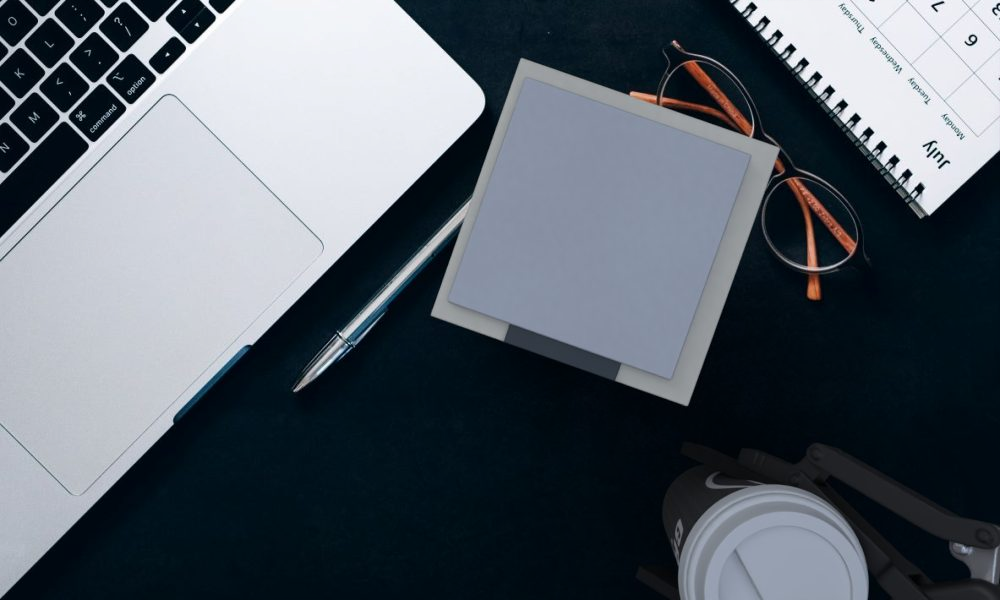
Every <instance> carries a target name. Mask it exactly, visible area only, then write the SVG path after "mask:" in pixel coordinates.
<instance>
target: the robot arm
mask: <svg viewBox="0 0 1000 600" xmlns="http://www.w3.org/2000/svg"><path fill="white" fill-rule="evenodd" d="M681 445H682V446H681V448H680V451H679V454H681V455H683V456H685V457H687V458H689V459H692V460H694V461H696V462H699V463H701V464H702V465H707V466H709V467H711V468H713V469H715V470H718V471H720V472H722V473H724V474H726V475H728V476H731V477H733V478H735V479H741V480H749V481H755V482H759V483H763V484H766V485H785V486H791V487H795V488H799V489H802V490H805V491H807V492H810V493H812V494H814V495H816V496H818V497H820V498H821V499H823V500H824V501H826V502H827V503H829V504H830V505H831V506H833V507H834V508H835V509H836V510H837V511H838V512H839V513H840V514H841V515H842V516H843V517H844V518H845V520H846V521H847V522H848V523H849V525H850V526H851V528H852V529H853V531H854V533H855V535H856V537H857V539H858V541H859V543H860V545H861V547H862V550H863V553H864V556H865V559H866V564H867V569H868V572H870V573H871V574H872V575H873V577H874V578H875V581H876V582H877V584H878V585H879V587H880V588H882V590H884V592H886V593H887V594H888V596H890V599H889V600H1000V525H999V524H996V523H992V522H986V521H983V520H978V519H972V518H967V517H964V516H963V517H962V516H960V515H958V514H956V513H954V512H952V511H951V510H949V509H948V508H945V507H944V506H943V505H940V504H938V503H937V502H935V501H933V500H931V499H929V498H927V497H926V496H924V495H922V494H921V493H919V492H918V491H915V490H914V489H912V488H910V487H908V486H906V485H905V484H903V483H901V482H899V481H897V480H895V479H894V478H892V477H890V476H889V475H886V474H885V473H884V472H881V471H879V470H878V469H876V468H874V467H872V466H871V465H869V464H867V463H865V462H864V461H862V460H860V459H858V458H856V457H854V456H853V455H851V454H849V453H847V452H846V451H844V450H842V449H840V448H838V447H835V446H831V445H827V444H824V443H820V442H813V443H811V444H810V445H809V446H808V447H807V448H806V451H805V455H804V457H803V458H802V459H801V460H800V461H799V462H797V463H792V462H789V461H787V460H784V459H782V458H781V457H777V456H775V455H772V454H770V453H768V452H766V451H764V450H760V449H755V448H751V447H745V448H743V447H741V448H740V451H739V453H738V454H739V455H738V457H737V458H734V457H732V456H729V455H728V454H725V453H723V452H721V451H719V450H716V449H714V448H712V447H709V446H707V445H703V444H699V443H694V442H689V441H683V442H682V444H681ZM830 476H832V477H833V478H835V479H837V480H839V481H840V482H842V483H844V484H845V485H848V486H849V487H850V488H852V489H854V490H856V491H857V492H859V493H861V494H862V495H864V496H865V497H867V498H869V499H870V500H873V501H874V502H876V503H878V504H879V505H881V506H882V507H884V508H886V509H887V510H890V512H893V513H894V514H896V515H897V516H899V517H901V518H903V519H904V520H906V521H908V522H909V523H911V524H913V525H914V526H916V527H917V528H920V529H921V530H923V531H925V532H927V533H929V534H930V535H932V536H934V537H937V538H940V539H942V540H945V541H948V542H949V543H948V550H949V552H950V554H951V555H952V557H953V558H955V559H957V560H958V561H961V562H962V563H964V564H965V565H966V566H967V567H968V569H969V572H970V577H969V578H960V579H955V580H948V581H947V580H946V581H941V582H934V581H932V579H930V578H929V577H928V576H927V575H926V574H925V572H923V571H922V570H921V569H920V568H919V567H918V566H916V565H915V563H912V562H911V561H909V560H908V559H906V557H904V555H902V554H901V553H900V552H899V551H898V549H896V548H895V547H894V545H892V544H891V543H890V542H889V541H888V540H887V539H886V538H885V537H884V536H883V535H882V534H881V533H880V532H879V531H878V530H876V528H875V527H874V526H873V525H871V523H869V522H868V521H867V520H866V519H865V518H864V517H863V516H862V515H861V514H860V513H859V512H858V511H857V510H856V509H855V508H854V507H853V505H851V504H850V503H849V502H847V500H846V499H845V498H844V497H843V496H842V495H840V493H838V491H836V490H835V489H834V488H833V486H831V485H830V484H829V483H828V482H827V481H826V480H827V479H828V478H829V477H830ZM635 579H637V580H638V581H640V582H642V583H643V584H645V585H647V586H648V587H650V588H651V589H653V590H654V591H655V592H658V594H661V595H662V596H664V597H665V598H667V599H668V600H681V598H680V593H679V585H678V574H677V573H675V572H674V571H673V570H670V569H669V568H667V567H666V566H664V565H639V566H638V569H637V571H636V574H635Z"/></svg>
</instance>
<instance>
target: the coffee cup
mask: <svg viewBox="0 0 1000 600" xmlns="http://www.w3.org/2000/svg"><path fill="white" fill-rule="evenodd" d="M662 501H663V502H662V507H661V508H662V509H661V512H662V513H661V515H662V516H661V517H662V523H663V527H664V530H665V533H666V535H667V539H668V542H669V544H670V546H671V550H672V553H673V556H674V558H675V561H676V564H677V566H678V571H677V573H678V574H677V575H678V585H679V593H680V598H681V600H868V599H869V590H870V589H869V587H870V585H869V583H870V582H869V570H868V569H867V564H866V559H865V556H864V553H863V550H862V547H861V545H860V543H859V541H858V539H857V537H856V535H855V533H854V531H853V529H852V528H851V526H850V525H849V523H848V522H847V521H846V520H845V518H844V517H843V516H842V515H841V514H840V513H839V512H838V511H837V510H836V509H835V508H834V507H833V506H831V505H830V504H829V503H827V502H826V501H824V500H823V499H821V498H820V497H818V496H816V495H814V494H812V493H810V492H807V491H805V490H802V489H799V488H795V487H791V486H785V485H766V484H763V483H759V482H755V481H749V480H741V479H735V478H733V477H731V476H728V475H726V474H724V473H722V472H720V471H718V470H715V469H713V468H711V467H709V466H707V465H705V464H700V465H696V466H692V467H690V468H688V469H687V470H685V471H683V472H682V473H680V474H679V475H678V476H677V477H676V478H675V479H674V480H673V481H672V483H671V484H670V485H669V487H668V488H667V491H666V492H665V495H664V498H663V500H662Z"/></svg>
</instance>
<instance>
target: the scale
mask: <svg viewBox="0 0 1000 600" xmlns="http://www.w3.org/2000/svg"><path fill="white" fill-rule="evenodd" d="M780 150H781V147H779V146H776V145H773V144H771V143H768V142H765V141H762V140H759V139H756V138H753V137H749V136H748V135H744V134H741V133H739V132H736V131H734V130H730V129H728V128H724V127H722V126H719V125H716V124H712V123H709V122H707V121H705V120H702V119H698V118H696V117H693V116H690V115H687V114H684V113H681V112H678V111H676V110H672V109H669V108H667V107H664V106H661V105H659V104H655V103H653V102H650V101H647V100H644V99H641V98H639V97H635V96H632V95H630V94H627V93H623V92H621V91H618V90H616V89H612V88H609V87H607V86H604V85H601V84H598V83H595V82H592V81H589V80H587V79H584V78H580V77H578V76H575V75H572V74H569V73H566V72H563V71H561V70H557V69H555V68H552V67H549V66H546V65H543V64H540V63H537V62H534V61H532V60H529V59H526V58H524V57H520V59H519V61H518V65H517V68H516V70H515V73H514V75H513V79H512V81H511V85H510V88H509V90H508V93H507V96H506V99H505V102H504V104H503V107H502V110H501V113H500V116H499V119H498V121H497V125H496V127H495V131H494V134H493V136H492V139H491V141H490V145H489V148H488V150H487V153H486V156H485V159H484V162H483V165H482V168H481V171H480V173H479V176H478V179H477V182H476V185H475V187H474V189H473V193H472V196H471V199H470V202H469V204H468V207H467V210H466V214H465V216H464V219H463V221H462V225H461V227H460V230H459V233H458V235H457V239H456V242H455V244H454V247H453V249H452V253H451V256H450V259H449V261H448V265H447V267H446V270H445V273H444V276H443V278H442V282H441V285H440V287H439V290H438V293H437V296H436V299H435V302H434V304H433V307H432V309H431V312H430V316H431V317H433V318H436V319H438V320H441V321H444V322H447V323H450V324H453V325H455V326H458V327H460V328H461V327H462V328H464V329H467V330H470V331H473V332H475V333H478V334H481V335H484V336H486V337H490V338H492V339H496V340H498V341H501V342H503V343H505V344H507V345H511V346H513V347H517V348H518V349H519V348H520V349H522V350H525V351H528V352H530V353H534V354H536V355H539V356H542V357H544V358H546V359H549V360H553V361H556V362H557V363H561V364H565V365H567V366H570V367H573V368H576V369H579V370H582V371H584V372H587V373H590V374H593V375H595V376H598V377H601V378H603V379H607V380H609V381H613V382H616V383H617V382H618V383H620V384H622V385H624V386H629V387H631V388H634V389H637V390H639V391H642V392H645V393H648V394H651V395H653V396H657V397H659V398H662V399H666V400H667V401H671V402H673V403H677V404H679V405H681V406H685V407H688V406H689V404H690V402H691V398H692V396H693V393H694V390H695V387H696V385H697V382H698V379H699V376H700V373H701V371H702V368H703V366H704V362H705V359H706V357H707V354H708V351H709V349H710V345H711V343H712V340H713V337H714V334H715V332H716V329H717V326H718V323H719V321H720V317H721V315H722V313H723V309H724V306H725V304H726V301H727V298H728V295H729V292H730V290H731V288H732V284H733V281H734V279H735V275H736V274H737V270H738V267H739V265H740V261H741V259H742V257H743V253H744V251H745V247H746V245H747V242H748V240H749V237H750V235H751V232H752V228H753V225H754V223H755V220H756V217H757V215H758V212H759V209H760V206H761V204H762V200H763V199H764V195H765V192H766V190H767V186H768V183H769V181H770V178H771V176H772V173H773V170H774V167H775V165H776V161H777V159H778V157H779V153H780Z"/></svg>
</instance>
